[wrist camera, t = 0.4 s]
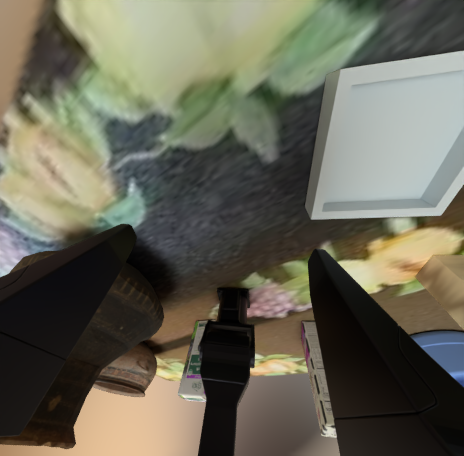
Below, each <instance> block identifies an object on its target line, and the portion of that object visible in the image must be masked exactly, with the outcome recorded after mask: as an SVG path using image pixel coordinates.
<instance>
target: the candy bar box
mask: <svg viewBox="0 0 464 456" xmlns="http://www.w3.org/2000/svg"><path fill="white" fill-rule="evenodd" d="M302 345H303V350H304V354H305V359H306V364H307V368H308V373H309V378H310V383H311V388H312V392H313V397H314V402H315V406H316V411H317V416H318V420H319V425H320V430H321V435H322V436H327V437H335V438H337V435H336V430H335V425H334V418H333V414H332V408H331V403H330V398H329V392H328V387H327V382H326V377H325V371H324V366H323V361H322V356H321V350H320V345H319V340H318V335H317V329H316V324H315V321H302Z"/></svg>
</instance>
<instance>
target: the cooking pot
mask: <svg viewBox="0 0 464 456" xmlns="http://www.w3.org/2000/svg"><path fill="white" fill-rule="evenodd" d="M156 370H157V361H156V358H155V356H154V354H153V353H152V351H151V350H150V349H149V347H148V346H147V344H146V343H144V342H142V341H141V342H140V343H139V344H137V345H136V346H135V347H134V348H132V349H131V350H130V351H128V352H127V353H125V354H124V355H122V356H120V357H119V358H117V359H116V360H115V361H113V362H112V363H111V364H109V365H108V366H106V367H105V368H104V369H102V371H101V373H100V374H99V376H98V378H97V380H96V381H95V383H94V385H93V386H92V387H94V388H96V389H99V390H102V391H106V392H110V393H114V394H119V395H124V396H131V397H144V396H145V393H144V392H145V390H146V389H147V387H148V386H149V385H150V383H151V382H152V380H153V378H154V376H155V374H156Z"/></svg>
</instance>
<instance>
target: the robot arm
mask: <svg viewBox="0 0 464 456" xmlns="http://www.w3.org/2000/svg"><path fill="white" fill-rule="evenodd" d="M136 240H137V236H136V234H135V232H134V230H133V228H132V226H131V225H129V224H120V225H118V226H116V227H113V228H111V229H109V230H107V231H104V232H102V233H100V234H98V235H95V236H93V237H91V238H89V239H86V240H84V241H82V242H80V243H77V244H75V245H73V246H71V247H68V248H66V249H64V250H62V251H59V252H57V253H55V254H52V255H50V256H48V257H46V258H43V259H41V260H39V261H37V262H34V263H32V264H31V265H28V266H25V267H23V268H21V269H19V270H16V271H14V272H12V273H9V274H7V275H5V276H2V277H0V437H2V436H19V435H20V434H21V433H22V431H23V430H24V428H25V427H26V425H27V424H28V422H29V420H30V419H31V417H32V416H33V414H34V412H35V411H36V409H37V407H38V406H39V404H40V402H41V401H42V399H43V398H44V396H45V394H46V393H47V391H48V389H49V388H50V386H51V385H52V383H53V381H54V380H55V378H56V376H57V375H58V373H59V372H60V370H61V368H62V367H63V365H64V363H65V362H66V359H67V358H68V357H69V355H70V353H71V352H72V350H73V348H74V347H75V345H76V344H77V342H78V340H79V339H80V337H81V335H82V334H83V332H84V331H85V329H86V327H87V326H88V324H89V322H90V321H91V319H92V318H93V316H94V314H95V313H96V311H97V309H98V308H99V306H100V305H101V303H102V301H103V300H104V298H105V296H106V295H107V293H108V291H109V290H110V288H111V287H112V285H113V283H114V282H115V280H116V278H117V277H118V275H119V274H120V272H121V270H122V269H123V267H124V265H125V263H126V261H127V259H128V257H129V255H130V253H131V251H132V249H133V246H134V244H135V242H136ZM308 273H309V287H310V297H311V303H312V308H313V313H314V319H315V324H316V329H317V335H318V340H319V345H320V350H321V356H322V361H323V366H324V371H325V377H326V382H327V387H328V392H329V398H330V403H331V408H332V414H333V418H334V425H335V430H336V435H337V440H338V445H339V451H340V456H464V387H463V386H462V385H461V384H460V383H459V382H458V381H456V380H455V379H454V378H453V377H452V376H451V375H450V374H449V373H448V372H447V371H446V370H445V369H443V368H442V367H441V366H440V365H439V364H438V363H437V362H436V361H435V360H434V359H433V358H432V357H431V356H430V355H429V354H428V353H427V352H425V351H424V350H423V349H422V348H421V347H420V346H419V345H418V344H417V343H416V342H415V341H414V340H413V339H412V338H411V337H410V336H409V335H408V334H407V333H406V332H405V331H404V330H403V329H402V328H401V327H400V326H398V324H397V323H396V322H395V321H394V320H393V319H392V318H391V317H390V316H389V314H388V313H387V312H386V311H385V310H384V309H383V308H382V307H381V306H380V305H379V304H378V303H377V302H376V301H375V300H374V299H373V298H372V297H371V296H370V295H369V294H368V293H367V292H366V291H365V290H364V289H363V288H362V287H361V286H360V285H359V284H358V283H357V282H356V281H355V280H354V279H353V278H352V277H351V276H350V275H349V274H348V273H347V272H346V271H345V270H344V269H343V268H342V267H341V266H340V265H339V264H338V263H337V262H336V261H335V260H334V259H333V258H332V257H331V256H330V255H329V254H328V253H327V252H326V251H325V250H323V249H314V250H313V252H312V254H311V256H310V258H309V261H308ZM217 293H218V297H219V300H220V305H219V311H218V317H217V321H211V320H208V321H207V324H205V329H204V332H203V336H202V338H201V340H200V343H199V345H198V351H199V360H200V362H201V366H200V375H201V379H202V383H203V387H204V391H205V395H206V407H205V413H204V420H203V426H202V433H201V439H200V445H199V452H198V456H235V438H236V421H237V407H238V405H239V403H240V401H241V399H242V397H243V395H244V393H245V391H246V389H247V387H248V384H249V378H250V368H254V364H255V335H254V324H251V325H250V324H247V308H250V299H249V290H248V289H229V288H218V289H217Z"/></svg>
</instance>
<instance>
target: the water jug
mask: <svg viewBox="0 0 464 456" xmlns="http://www.w3.org/2000/svg"><path fill="white" fill-rule="evenodd" d="M410 337H411V338H412V339H413V340H414V341H415V342H416V343H417V344H418V345H419V346H420V347H421V348H422V349H423V350H424V351H425V352H427V353H428V354H429V355H430V356H431V357H432V358H433V359H434V360H435V361H436V362H437V363H438V364H439V365H440V366H441V367H442V368H443V369H445V370H446V371H447V372H448V373H449V374H450V375H451V376H452V377H453V378H454V379H455V380H456V381H458V382H459V383H460V384H461V385H462V386H463V387H464V333H463V332H457V331H433V332H425V333H419V334H415V335H412V336H410Z"/></svg>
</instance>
